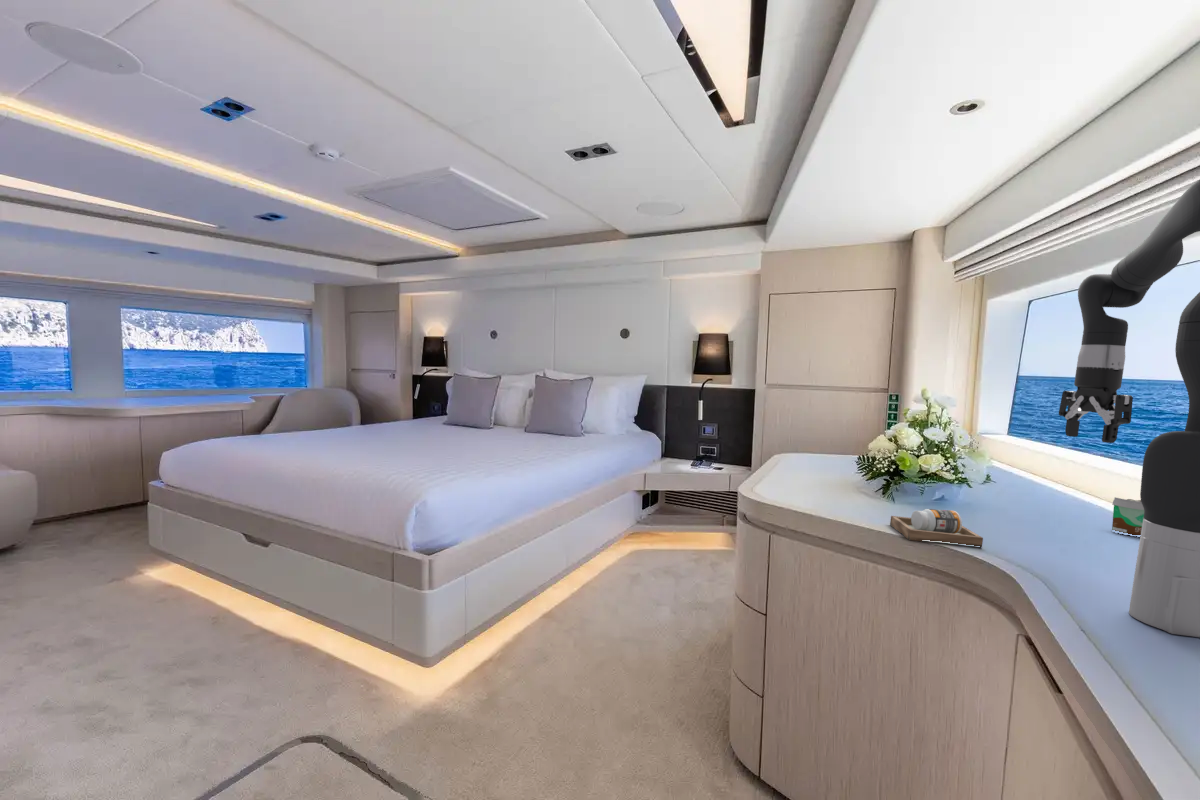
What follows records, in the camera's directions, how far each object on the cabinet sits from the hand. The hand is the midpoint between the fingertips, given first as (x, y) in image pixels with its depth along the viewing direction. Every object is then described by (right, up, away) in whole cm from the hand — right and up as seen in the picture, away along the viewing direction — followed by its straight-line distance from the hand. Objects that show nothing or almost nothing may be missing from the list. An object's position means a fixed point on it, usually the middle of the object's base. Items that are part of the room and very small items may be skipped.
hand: (1089, 439), depth 116 cm
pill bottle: (-19, -22, +16) cm, 33 cm away
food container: (+40, -29, +28) cm, 57 cm away
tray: (-25, -25, +15) cm, 39 cm away
